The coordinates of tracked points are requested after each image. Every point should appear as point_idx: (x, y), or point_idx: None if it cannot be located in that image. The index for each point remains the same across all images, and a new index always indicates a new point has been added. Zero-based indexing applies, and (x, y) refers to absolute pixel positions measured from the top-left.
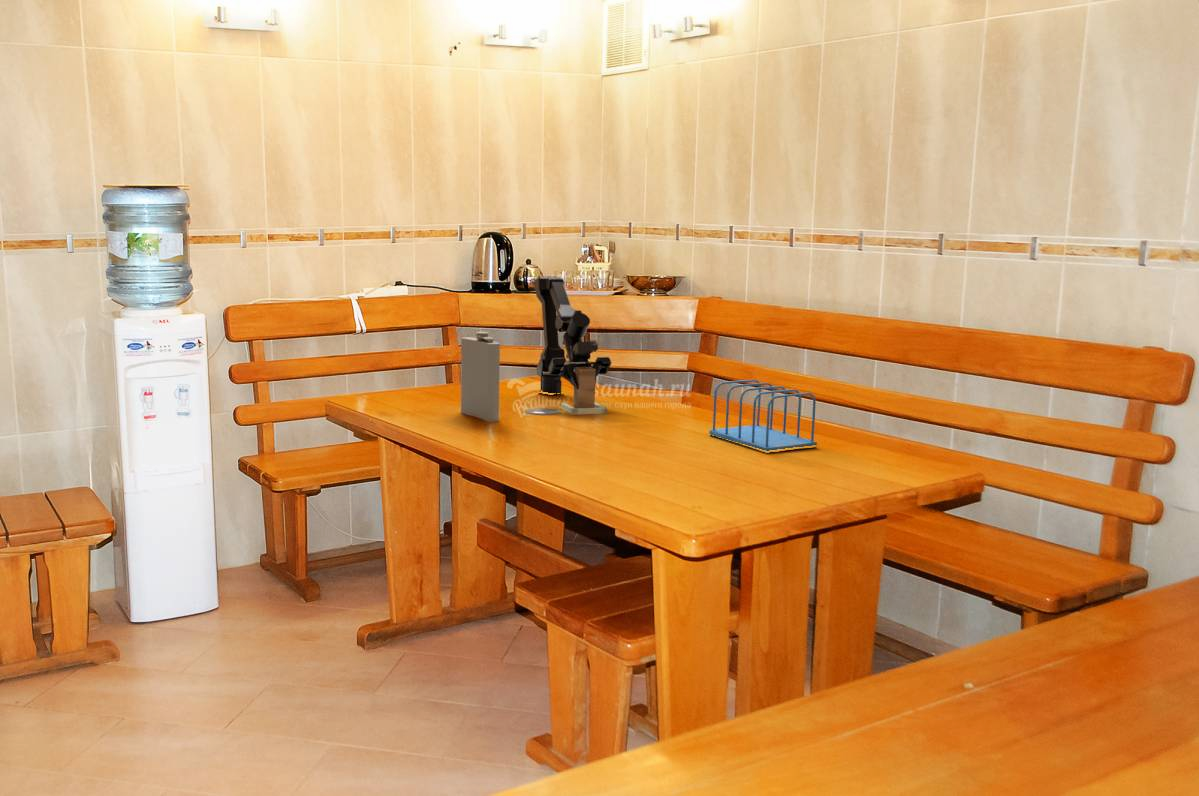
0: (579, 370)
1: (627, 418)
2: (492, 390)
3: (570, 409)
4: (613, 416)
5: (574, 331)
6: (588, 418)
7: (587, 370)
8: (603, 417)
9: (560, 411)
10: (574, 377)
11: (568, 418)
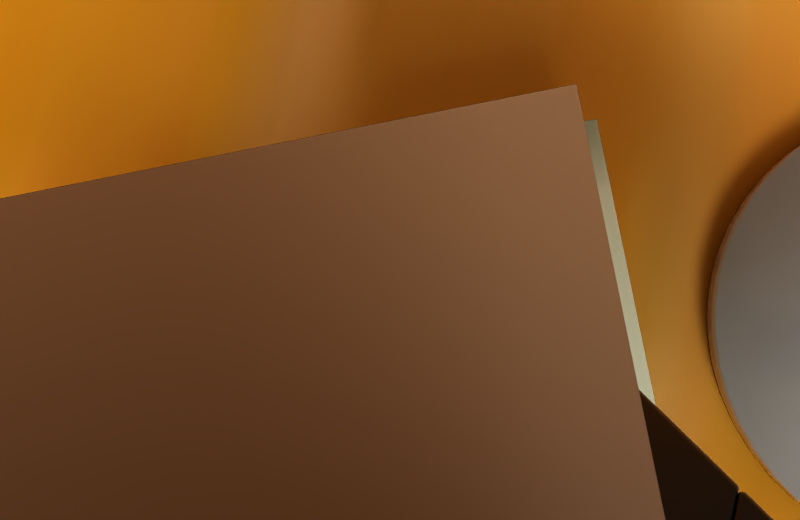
0: (583, 188)
1: (23, 22)
2: None
3: (611, 211)
4: (133, 130)
5: None
6: (421, 18)
7: (89, 205)
8: (249, 74)
9: (719, 317)
10: (675, 499)
11: (648, 15)
